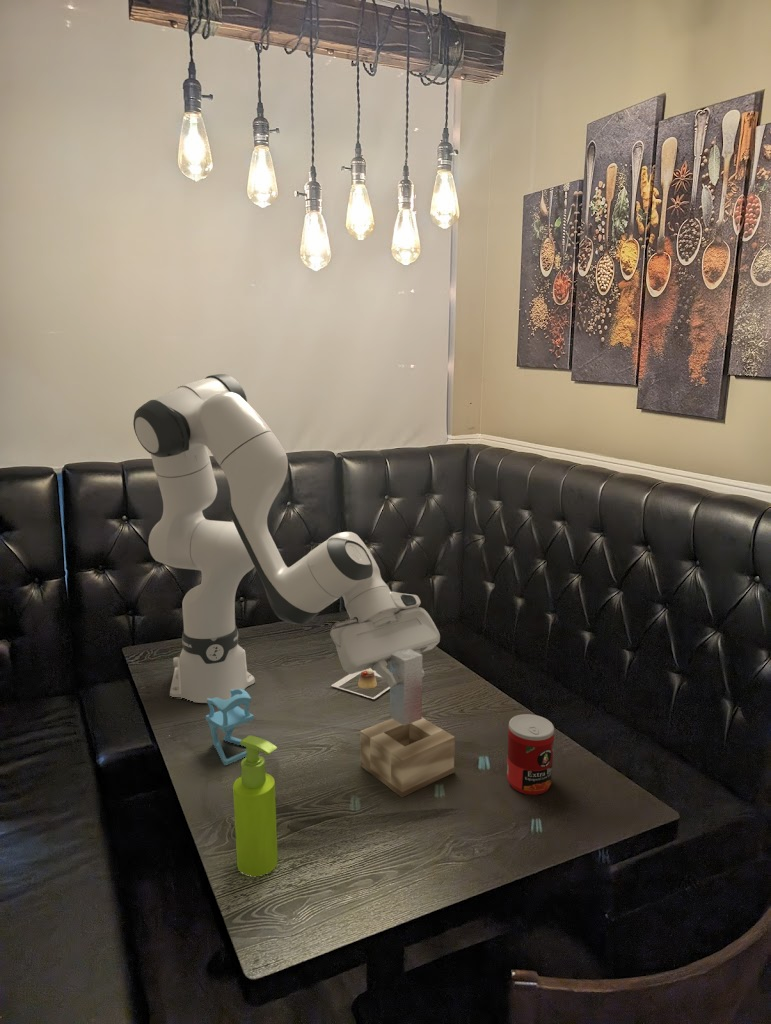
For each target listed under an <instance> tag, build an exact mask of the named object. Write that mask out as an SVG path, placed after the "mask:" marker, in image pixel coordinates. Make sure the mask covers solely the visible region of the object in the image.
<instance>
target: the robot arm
mask: <svg viewBox="0 0 771 1024" xmlns="http://www.w3.org/2000/svg"><path fill="white" fill-rule="evenodd" d="M243 388H244V387H242V386H241V384H240V383H239V382H238V380H236V379H235V378H234V377H232V376H231V375H229V374H226V373H224V374H223V373H219V374H218V373H217V374H213V375H208V376H206V377H204V378H202V379H198V380H194V381H191V382H188V383H184V384H182V385H180V386H178V387H176V388H174V389H173V390H171V391H168V392H167V393H165V394H162V395H160V396H159V397H157V398H155V399H150V400H148V401H147V402H145V403H143V404H142V405H141V406H140V407H138V409H136V410H135V412H134V415H133V429H134V433H135V437H137V440H138V442H139V443H140V445H141V446H142V448H143V449H144V450H145V451H146V452H148V454H150V456H151V461H152V466H153V469H154V472H155V475H156V479H157V483H158V486H159V491H160V494H161V495H160V496H161V498H162V505H163V506H162V507H163V510H162V515H161V518H160V520H158V522H157V523H156V524H154V526H153V527H152V529H151V531H150V532H149V536H148V544H147V545H148V549H149V553H150V556H151V557H152V558H153V559H154V560H155V561H156V562H158V563H160V564H163V565H166V566H169V567H172V568H175V569H184V570H193V571H194V570H195V571H199V572H201V581H200V583H199V584H198V585H196V586H194V587H193V588H192V587H191V588H190V589H189V590H188V591H187V592H186V593H185V595H184V597H183V599H182V602H181V604H182V621H183V631H182V633H181V634H182V635H181V642H182V648H181V652H180V655H179V656H176V657H173V659H172V661H173V667H174V671H173V674H172V680H171V684H170V689H169V697H170V696H172V697H181V698H180V699H182V698H185V699H187V700H186V701H188V700H190V701H189V702H191V701H193V702H192V703H200V704H208V703H207V698H210V699H212V698H216V697H218V698H220V699H222V700H227V699H229V698H231V691H230V690H231V689H233V690H237V689H243V690H246V688H248V687H249V686H252V685H254V683H256V679H255V677H254V675H252V674H251V673H250V672H249V671H248V667H247V665H248V664H247V656H246V650H245V649H243V647H242V646H240V645H239V631H238V626H237V625H236V613H235V611H236V609H235V608H236V605H235V604H236V593H237V589H238V586H239V584H240V582H241V581H242V579H243V577H244V576H246V574H248V573H249V572H250V571H252V570H253V569H254V568H255V570H256V572H257V574H258V577H259V578H260V581H261V583H262V585H263V588H264V590H265V594H266V598H267V600H268V603H269V605H270V608H271V610H272V611H273V613H274V614H275V616H276V617H277V618H278V619H280V620H281V621H283V622H286V623H289V624H294V625H306V624H308V623H309V622H311V621H312V620H313V619H314V618H315V617H316V616H318V615H319V614H320V613H321V612H322V611H323V610H324V609H326V608H327V607H329V606H331V604H333V603H334V602H336V601H337V600H338V599H341V598H343V601H344V607H345V610H346V611H347V615H348V616H349V618H348V619H346V620H343V621H337V622H334V624H333V625H332V627H331V628H330V630H329V635H330V638H331V640H332V642H333V643H334V645H335V648H336V652H337V656H338V659H339V661H340V664H341V667H342V670H343V671H344V672H346V673H347V674H348V675H349V674H353V673H356V672H360V671H363V670H366V669H369V668H371V669H372V668H373V669H374V671H376V673H377V674H379V675H380V676H381V677H380V678H382V677H383V678H382V679H384V680H385V681H386V683H387V685H388V687H390V688H392V687H395V686H398V685H399V684H400V679H399V678H398V675H397V673H396V674H393V673H392V672H390V669H389V668H387V666H388V663H389V664H390V657H391V653H395V652H398V651H401V650H405V649H408V648H409V649H411V650H413V651H415V652H417V653H419V654H421V655H422V653H424V652H427V651H430V650H433V649H434V648H435V647H436V646H437V645H438V644H439V643H440V641H441V635H440V632H439V629H438V628H437V626H436V624H435V622H434V621H433V619H432V617H431V616H430V613H428V611H426V610H425V608H423V607H419V606H420V605H421V599H420V597H419V596H418V595H416V594H409V593H402V592H397V591H392V590H391V589H390V587H389V585H388V584H387V583H386V582H385V581H384V579H383V578H382V575H381V570H380V568H379V566H378V564H377V562H376V559H375V558H374V556H373V555H372V553H371V552H370V550H369V548H368V547H367V545H366V544H365V542H364V541H363V539H362V538H360V536H359V535H358V534H357V533H355V532H352V531H343V532H337V533H335V534H333V535H331V536H329V537H328V539H326V540H325V541H323V542H322V543H320V544H319V545H318V546H316V547H315V548H313V549H311V550H310V551H309V552H308V553H307V554H306V555H304V556H303V557H302V558H300V559H299V560H297V561H296V562H295V563H293V564H292V565H291V566H287V564H286V563H285V561H284V560H283V557H282V555H281V553H280V551H279V550H278V547H277V545H276V543H275V541H274V539H273V537H272V535H271V533H270V531H269V527H268V516H269V512H270V510H271V508H272V505H273V503H274V501H275V500H276V498H277V496H278V494H279V493H280V491H281V490H282V488H283V486H284V483H285V481H286V478H287V475H288V474H287V473H288V470H289V469H288V468H289V461H288V455H287V454H286V451H285V449H284V447H283V446H282V444H281V442H280V441H279V439H278V437H277V436H276V435H275V433H274V432H273V431H272V429H271V427H270V426H269V425H268V424H267V423H266V421H265V420H264V419H263V418H262V416H261V415H260V414H259V413H258V412H257V411H256V410H255V408H254V407H252V406H251V405H250V403H249V402H248V399H247V396H246V395H247V394H246V392H245V390H244V389H243ZM208 450H209V451H210V453H211V455H212V456H213V458H214V460H215V461H216V462H217V464H218V466H219V467H220V468H221V470H222V471H223V473H224V476H225V477H226V480H227V483H228V487H229V493H230V498H229V501H228V511H229V514H230V516H231V519H232V521H225V520H213V519H211V520H210V519H207V518H205V516H204V513H203V511H204V510H206V509H207V508H208V507H211V505H212V504H213V503H214V501H215V500H216V497H217V494H218V486H217V481H216V477H215V473H214V469H213V466H212V462H211V458H210V453H209V451H208ZM425 674H426V673H425V671H424V669H423V668H422V678H423V677H424V676H425ZM236 695H239V694H236ZM172 697H171V698H172ZM185 699H184V700H185Z"/></svg>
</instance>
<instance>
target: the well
mask: <svg viewBox="0 0 771 1024" xmlns="http://www.w3.org/2000/svg"><path fill="white" fill-rule="evenodd" d="M359 733H360V734H359V735H360V737H359V740H360V741H359V744H360V745H359V747H360V756H359V757H360V767H361V768H362V769H364V770H365V771H366V772H368V773H369V774H370V775H372V776H373V777H374V778H376V779H377V780H378V781H380V782H381V783H383V784H384V785H385V786H387V788H390V790H392V791H393V792H394V793H395V794H397V795H398V796H400V797H401V798H404V797H407V795H411V794H412V793H414V792H416V791H419V790H421V789H422V788H425V787H427V786H429V785H431V784H433V783H435V782H437V781H439V780H441V779H443V778H445V777H447V776H449V775H451V774H452V775H453V774H454V773H455V745H456V744H455V743H456V742H455V738H456V737H455V736H454V735H453V734H451V733H449V732H448V731H445V730H444V729H442V728H440V727H439V726H437V725H436V724H434V723H432V722H430V721H429V720H428V719H426V718H424V717H422V719H420V720H418V721H415V722H413V723H410V724H407V725H405V726H403V725H402V724H400V723H399V722H397V721H396V720H394V719H392V718H390V719H387V720H385V721H382V722H379V723H377V724H374V725H372V726H369V727H366V728H364V729H362V730H360V731H359Z"/></svg>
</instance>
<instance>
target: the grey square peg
mask: <svg viewBox="0 0 771 1024" xmlns="http://www.w3.org/2000/svg"><path fill="white" fill-rule="evenodd" d="M422 669H423V654H422V653H421V654H419V653H417V652H415V651H413V650H411V649H409V648H408V649H405V650H401V651H398V652H395V653H391V657H390V662H389V671H390V672H392V673H393V674H396V673H397V675H398V678H399V679H400V684H399V685H398V686H395V687H392V688H390V689H389V718H390V719H394V720H396V721H397V722H399V723H400V724H402V725H403V726H405V725H407V724H410V723H413V722H415V721H418V720H420V719H422V718H423V715H422V714H423V713H422V711H423V709H422V708H423V677H422Z"/></svg>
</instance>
